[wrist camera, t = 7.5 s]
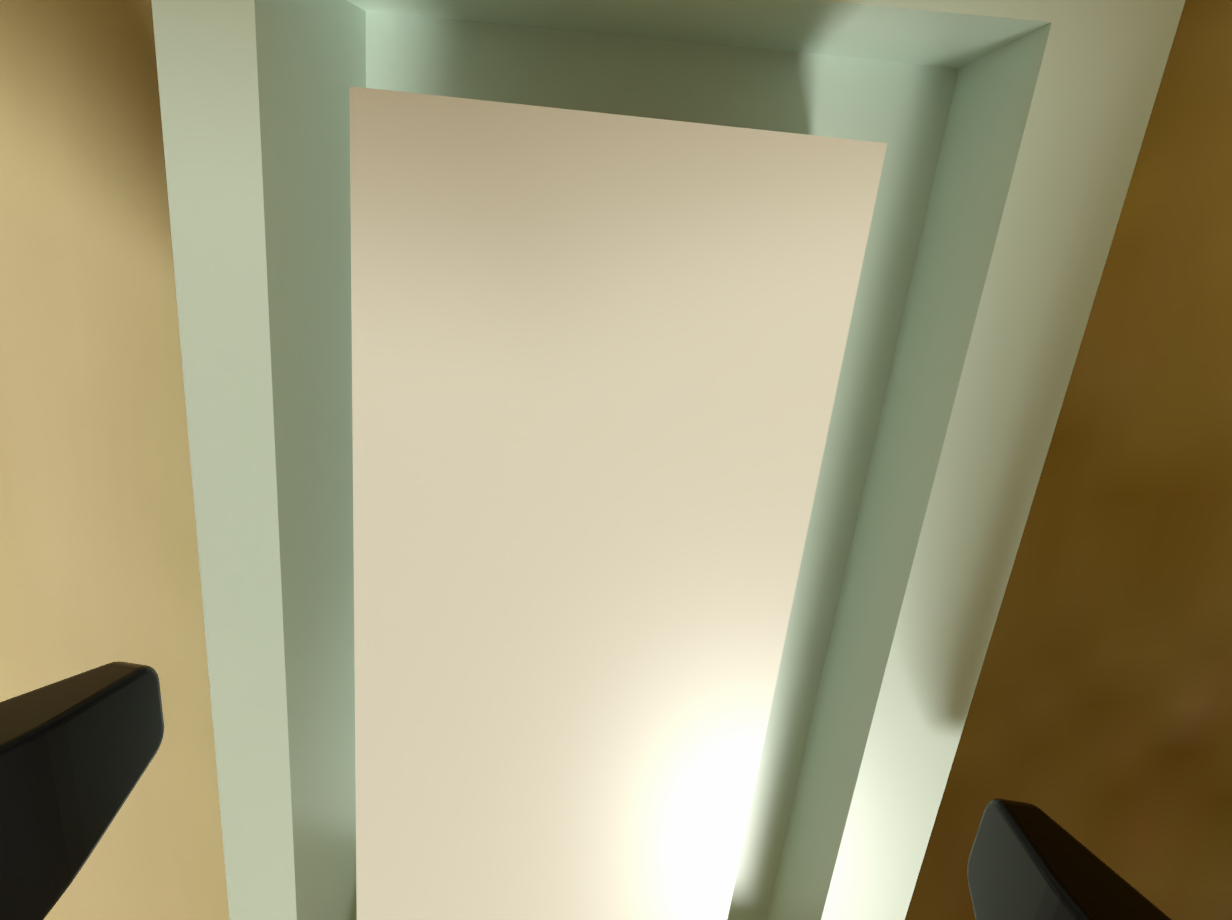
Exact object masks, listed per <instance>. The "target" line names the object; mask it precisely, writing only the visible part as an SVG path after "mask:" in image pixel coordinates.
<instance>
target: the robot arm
mask: <svg viewBox="0 0 1232 920" xmlns="http://www.w3.org/2000/svg"><path fill="white" fill-rule="evenodd" d="M163 733H164V721H163V712H162V703H161V694H160V685H159V678H158V674H157V673H156V671H155V670H154V669H153V668H151V667H150V666H146V665H140V664H133V663H127V662H112V663H109V664H106V665H103V666H100V667H98V668H95V669H92V670H89V671H86V672H84V673H81V674H78V675H75V676H73V677H70V678H67V679H64V680H61V681H59V682H56V683H53V684H50V685H47V686H45V687H42V688H39V689H36V690H33V691H31V692H28V693H25V694H22V695H19V696H17V697H14V698H11V699H8V700H6V701H3V702H0V920H43V919H44V918H45V917H46V915H47V914H48V913H49V911H50V910H51V909H52V908H53V906H54V905H55V904H56V902H57V901H58V900H59V898H60V897H61V896H62V894H63V893H64V892H65V890H66V889H67V888H68V886H69V885H70V884H71V882H72V881H73V879H74V878H75V877H76V875H77V874H78V872H79V871H80V869H81V868H82V866H83V865H84V863H85V862H86V861H87V859H88V858H89V856H90V855H91V853H92V851H93V850H94V848H95V847H96V845H97V844H98V842H99V841H100V839H101V838H102V836H103V834H104V833H105V831H106V830H107V828H108V827H109V825H110V824H111V822H112V821H113V819H114V817H115V816H116V814H117V813H118V811H119V810H120V808H121V807H122V805H123V804H124V802H125V801H126V799H127V797H128V796H129V794H130V793H131V791H132V790H133V788H134V787H135V785H136V784H137V782H138V780H139V779H140V777H141V776H142V774H143V773H144V771H145V770H146V768H147V767H148V765H149V763H150V762H151V760H152V759H153V757H154V756H155V754H156V752H157V751H158V749H159V747H160V744H161V742H162V738H163ZM968 883H969V889H970V894H971V898H972V903H973V908H974V913H975V917H976V920H1171V919H1170V918H1169V917H1168V916H1166V915H1165V914H1164V913H1163V912H1162V911H1161V910H1159V909H1158V908H1157V907H1156V906H1155V905H1153V904H1152V903H1151V902H1150V901H1149V900H1147V899H1146V898H1145V897H1144V896H1143V895H1142V894H1140V893H1139V892H1138V891H1137V890H1136V889H1134V888H1133V887H1132V886H1131V885H1130V884H1128V883H1127V882H1126V881H1125V880H1124V879H1123V878H1121V877H1120V876H1119V875H1118V874H1117V873H1115V872H1114V871H1113V870H1112V869H1111V868H1110V867H1108V866H1107V865H1106V864H1105V863H1104V862H1102V861H1101V860H1100V859H1099V858H1098V857H1096V856H1095V855H1094V854H1093V853H1092V852H1091V851H1089V850H1088V849H1087V848H1086V847H1085V846H1083V845H1082V844H1081V843H1080V842H1079V841H1077V840H1076V839H1075V838H1074V837H1073V836H1072V835H1070V834H1069V833H1068V832H1067V831H1066V830H1064V829H1063V828H1062V827H1061V826H1060V825H1058V824H1057V823H1056V822H1055V821H1054V820H1053V819H1051V818H1050V817H1049V816H1048V815H1047V814H1045V813H1044V812H1043V811H1042V810H1041V809H1039V808H1038V807H1037V806H1035V805H1032V804H1029V803H1024V802H1018V801H1011V800H1005V799H994V800H992V801H990V802H989V803H988V805H987V806H986V808H985V810H984V814H983V817H982V820H981V823H980V826H979V829H978V832H977V835H976V838H975V841H974V844H973V847H972V850H971V853H970V856H969V860H968Z"/></svg>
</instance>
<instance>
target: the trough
mask: <svg viewBox="0 0 1232 920" xmlns="http://www.w3.org/2000/svg"><path fill="white" fill-rule="evenodd" d="M1185 1H1186V0H151V3H152V15H153V26H154V38H155V50H156V61H157V73H158V85H159V97H160V108H161V120H162V132H163V144H164V155H165V167H166V179H167V191H168V202H169V214H170V226H171V237H172V249H173V261H174V273H175V284H176V296H177V308H178V320H179V331H180V343H181V355H182V367H183V378H184V390H185V402H186V414H187V425H188V437H189V449H190V460H191V472H192V484H193V496H194V507H195V519H196V531H197V543H198V554H199V566H200V578H201V590H202V601H203V613H204V625H205V637H206V648H207V660H208V672H209V683H210V695H211V707H212V719H213V730H214V742H215V754H216V766H217V777H218V789H219V801H220V813H221V824H222V836H223V848H224V860H225V871H226V883H227V895H228V906H229V918H230V920H357V898H356V782H355V667H354V552H353V436H352V321H351V206H350V91H349V86H353V87H362V88H372V89H381V90H391V91H400V92H410V93H419V94H428V95H438V96H447V97H457V98H466V99H476V100H485V101H495V102H504V103H513V104H523V105H532V106H542V107H551V108H561V109H570V110H580V111H589V112H598V113H608V114H617V115H627V116H636V117H646V118H655V119H665V120H674V121H683V122H693V123H702V124H712V125H721V126H731V127H740V128H750V129H759V130H768V131H778V132H787V133H797V134H806V135H816V136H825V137H835V138H844V139H853V140H863V141H872V142H882V143H887V148H886V153H885V158H884V163H883V167H882V172H881V177H880V182H879V187H878V192H877V197H876V201H875V206H874V211H873V216H872V221H871V226H870V230H869V235H868V240H867V245H866V250H865V255H864V260H863V264H862V269H861V274H860V279H859V284H858V289H857V294H856V298H855V303H854V308H853V313H852V318H851V323H850V327H849V332H848V337H847V342H846V347H845V352H844V357H843V361H842V366H841V371H840V376H839V381H838V386H837V390H836V395H835V400H834V405H833V410H832V415H831V420H830V424H829V429H828V434H827V439H826V444H825V449H824V454H823V458H822V463H821V468H820V473H819V478H818V483H817V487H816V492H815V497H814V502H813V507H812V512H811V517H810V521H809V526H808V531H807V536H806V541H805V546H804V551H803V555H802V560H801V565H800V570H799V575H798V580H797V584H796V589H795V594H794V599H793V604H792V609H791V614H790V618H789V623H788V628H787V633H786V638H785V643H784V648H783V652H782V657H781V662H780V667H779V672H778V677H777V681H776V686H775V691H774V696H773V701H772V706H771V711H770V715H769V720H768V725H767V730H766V735H765V740H764V745H763V749H762V754H761V759H760V764H759V769H758V774H757V778H756V783H755V788H754V793H753V798H752V803H751V808H750V812H749V817H748V822H747V827H746V832H745V837H744V842H743V846H742V851H741V856H740V861H739V866H738V871H737V875H736V880H735V885H734V890H733V895H732V900H731V905H730V909H729V914H728V919H727V920H905V917H906V913H907V910H908V907H909V904H910V900H911V897H912V894H913V891H914V887H915V884H916V881H917V877H918V874H919V871H920V868H921V864H922V861H923V858H924V855H925V851H926V848H927V845H928V841H929V838H930V835H931V832H932V828H933V825H934V822H935V819H936V815H937V812H938V809H939V805H940V802H941V799H942V796H943V792H944V789H945V786H946V783H947V779H948V776H949V773H950V769H951V766H952V763H953V760H954V756H955V753H956V750H957V747H958V743H959V740H960V737H961V733H962V730H963V727H964V724H965V720H966V717H967V714H968V711H969V707H970V704H971V701H972V697H973V694H974V691H975V688H976V684H977V681H978V678H979V675H980V671H981V668H982V665H983V661H984V658H985V655H986V652H987V648H988V645H989V642H990V639H991V635H992V632H993V629H994V626H995V622H996V619H997V616H998V612H999V609H1000V606H1001V603H1002V599H1003V596H1004V593H1005V590H1006V586H1007V583H1008V580H1009V576H1010V573H1011V570H1012V567H1013V563H1014V560H1015V557H1016V554H1017V550H1018V547H1019V544H1020V540H1021V537H1022V534H1023V531H1024V527H1025V524H1026V521H1027V518H1028V514H1029V511H1030V508H1031V504H1032V501H1033V498H1034V495H1035V491H1036V488H1037V485H1038V482H1039V478H1040V475H1041V472H1042V468H1043V465H1044V462H1045V459H1046V455H1047V452H1048V449H1049V446H1050V442H1051V439H1052V436H1053V432H1054V429H1055V426H1056V423H1057V419H1058V416H1059V413H1060V410H1061V406H1062V403H1063V400H1064V397H1065V393H1066V390H1067V387H1068V383H1069V380H1070V377H1071V374H1072V370H1073V367H1074V364H1075V361H1076V357H1077V354H1078V351H1079V347H1080V344H1081V341H1082V338H1083V334H1084V331H1085V328H1086V325H1087V321H1088V318H1089V315H1090V311H1091V308H1092V305H1093V302H1094V298H1095V295H1096V292H1097V289H1098V285H1099V282H1100V279H1101V275H1102V272H1103V269H1104V266H1105V262H1106V259H1107V256H1108V253H1109V249H1110V246H1111V243H1112V239H1113V236H1114V233H1115V230H1116V226H1117V223H1118V220H1119V217H1120V213H1121V210H1122V207H1123V203H1124V200H1125V197H1126V194H1127V190H1128V187H1129V184H1130V181H1131V177H1132V174H1133V171H1134V167H1135V164H1136V161H1137V158H1138V154H1139V151H1140V148H1141V145H1142V141H1143V138H1144V135H1145V132H1146V128H1147V125H1148V122H1149V118H1150V115H1151V112H1152V109H1153V105H1154V102H1155V99H1156V96H1157V92H1158V89H1159V86H1160V82H1161V79H1162V76H1163V73H1164V69H1165V66H1166V63H1167V60H1168V56H1169V53H1170V50H1171V46H1172V43H1173V40H1174V37H1175V33H1176V30H1177V27H1178V24H1179V20H1180V17H1181V14H1182V10H1183V7H1184V4H1185Z"/></svg>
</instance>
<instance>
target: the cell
mask: <svg viewBox="0 0 1232 920" xmlns="http://www.w3.org/2000/svg"><path fill="white" fill-rule="evenodd" d="M349 91H350V206H351V321H352V436H353V552H354V667H355V782H356V898H357V920H727V919H728V914H729V909H730V905H731V900H732V895H733V890H734V885H735V880H736V875H737V871H738V866H739V861H740V856H741V851H742V846H743V842H744V837H745V832H746V827H747V822H748V817H749V812H750V808H751V803H752V798H753V793H754V788H755V783H756V778H757V774H758V769H759V764H760V759H761V754H762V749H763V745H764V740H765V735H766V730H767V725H768V720H769V715H770V711H771V706H772V701H773V696H774V691H775V686H776V681H777V677H778V672H779V667H780V662H781V657H782V652H783V648H784V643H785V638H786V633H787V628H788V623H789V618H790V614H791V609H792V604H793V599H794V594H795V589H796V584H797V580H798V575H799V570H800V565H801V560H802V555H803V551H804V546H805V541H806V536H807V531H808V526H809V521H810V517H811V512H812V507H813V502H814V497H815V492H816V487H817V483H818V478H819V473H820V468H821V463H822V458H823V454H824V449H825V444H826V439H827V434H828V429H829V424H830V420H831V415H832V410H833V405H834V400H835V395H836V390H837V386H838V381H839V376H840V371H841V366H842V361H843V357H844V352H845V347H846V342H847V337H848V332H849V327H850V323H851V318H852V313H853V308H854V303H855V298H856V294H857V289H858V284H859V279H860V274H861V269H862V264H863V260H864V255H865V250H866V245H867V240H868V235H869V230H870V226H871V221H872V216H873V211H874V206H875V201H876V197H877V192H878V187H879V182H880V177H881V172H882V167H883V163H884V158H885V153H886V148H887V143H882V142H872V141H863V140H853V139H844V138H835V137H825V136H816V135H806V134H797V133H787V132H778V131H768V130H759V129H750V128H740V127H731V126H721V125H712V124H702V123H693V122H683V121H674V120H665V119H655V118H646V117H636V116H627V115H617V114H608V113H598V112H589V111H580V110H570V109H561V108H551V107H542V106H532V105H523V104H513V103H504V102H495V101H485V100H476V99H466V98H457V97H447V96H438V95H428V94H419V93H410V92H400V91H391V90H381V89H372V88H362V87H353V86H349Z"/></svg>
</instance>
